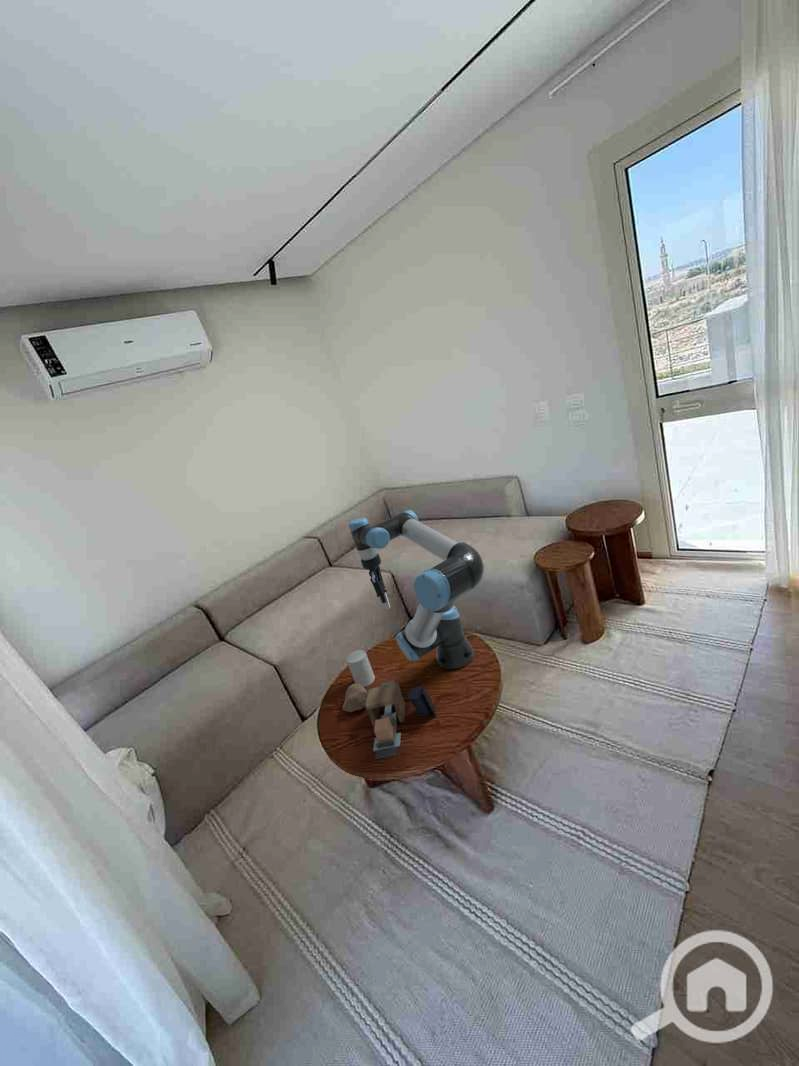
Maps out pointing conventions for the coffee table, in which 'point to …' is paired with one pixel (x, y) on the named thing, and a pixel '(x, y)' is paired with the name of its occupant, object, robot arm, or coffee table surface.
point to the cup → (360, 668)
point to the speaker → (421, 701)
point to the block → (383, 729)
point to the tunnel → (385, 701)
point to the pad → (397, 743)
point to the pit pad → (386, 753)
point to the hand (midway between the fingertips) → (386, 608)
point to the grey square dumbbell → (392, 719)
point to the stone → (355, 698)
